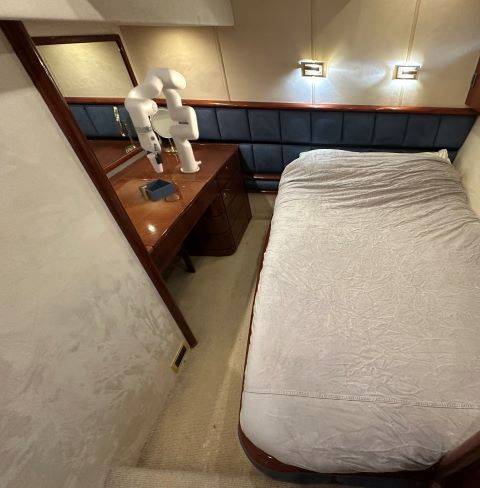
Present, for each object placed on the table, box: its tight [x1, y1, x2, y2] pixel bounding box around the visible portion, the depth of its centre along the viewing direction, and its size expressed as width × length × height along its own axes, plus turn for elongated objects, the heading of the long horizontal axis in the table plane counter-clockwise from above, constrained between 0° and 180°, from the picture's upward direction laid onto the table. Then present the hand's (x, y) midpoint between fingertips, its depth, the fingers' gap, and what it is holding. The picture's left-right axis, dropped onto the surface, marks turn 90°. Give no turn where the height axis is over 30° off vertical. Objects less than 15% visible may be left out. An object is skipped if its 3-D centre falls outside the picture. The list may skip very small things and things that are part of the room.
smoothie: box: [146, 152, 164, 174], centre depth 147 cm, size 6×6×14 cm
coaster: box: [165, 194, 180, 203], centre depth 161 cm, size 8×8×1 cm
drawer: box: [137, 178, 177, 202], centre depth 161 cm, size 16×12×8 cm
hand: (156, 161), depth 148 cm, fingers closed on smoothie, 6 cm apart
